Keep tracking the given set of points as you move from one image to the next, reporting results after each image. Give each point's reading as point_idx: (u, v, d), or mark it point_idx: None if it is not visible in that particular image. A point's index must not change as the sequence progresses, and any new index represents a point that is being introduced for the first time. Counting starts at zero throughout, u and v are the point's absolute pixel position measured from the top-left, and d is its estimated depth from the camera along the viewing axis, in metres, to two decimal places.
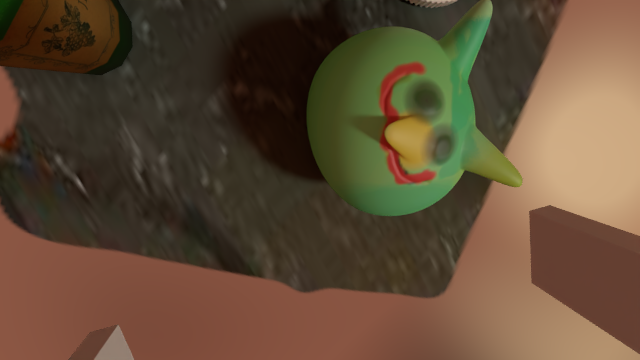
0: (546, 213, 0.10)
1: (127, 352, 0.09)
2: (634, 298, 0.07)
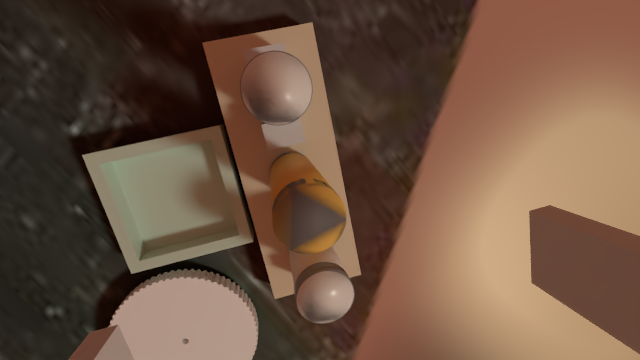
0: (546, 213, 0.10)
1: (127, 353, 0.09)
2: (634, 298, 0.07)
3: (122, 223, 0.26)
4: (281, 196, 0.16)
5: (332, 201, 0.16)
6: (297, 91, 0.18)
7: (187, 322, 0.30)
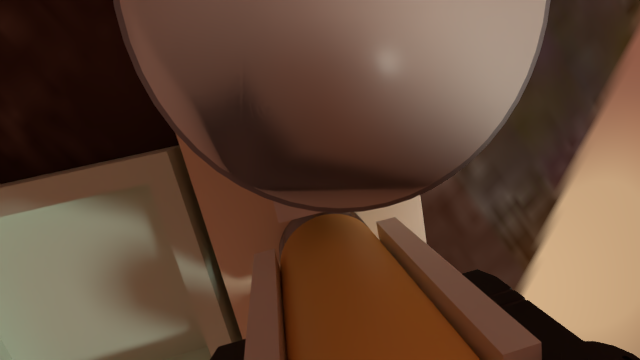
0: (385, 224, 0.11)
1: (280, 271, 0.11)
2: None
3: None
4: None
5: None
6: (469, 18, 0.03)
7: None
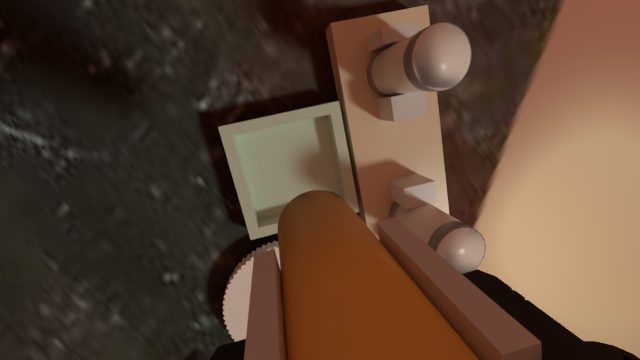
0: (386, 224, 0.11)
1: (280, 271, 0.11)
2: None
3: (247, 192, 0.28)
4: None
5: None
6: (458, 59, 0.20)
7: None
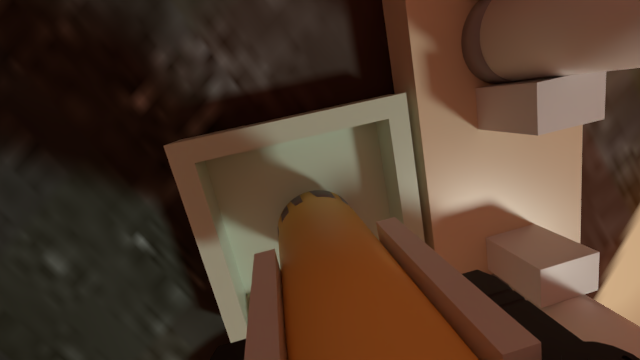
0: (386, 224, 0.11)
1: (280, 271, 0.11)
2: None
3: (226, 269, 0.15)
4: None
5: None
6: None
7: None
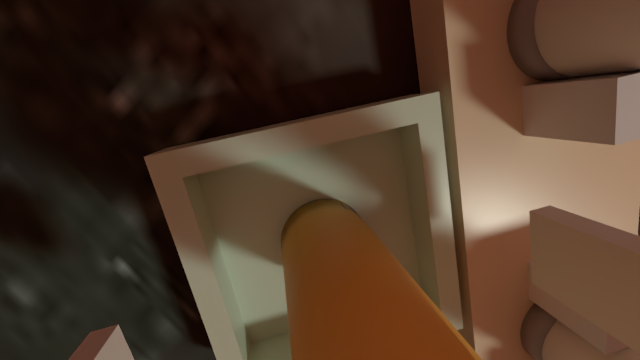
0: (546, 213, 0.10)
1: (127, 353, 0.09)
2: (634, 298, 0.07)
3: (221, 303, 0.12)
4: None
5: None
6: None
7: None
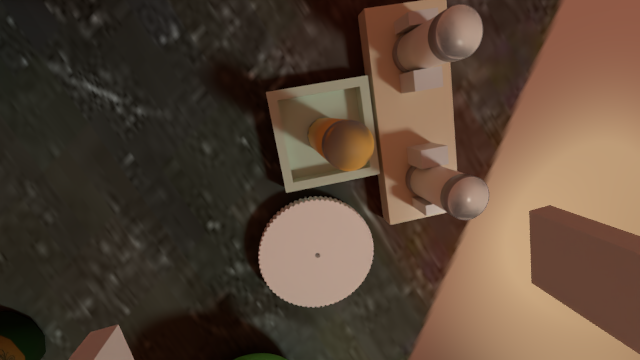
0: (546, 213, 0.10)
1: (126, 352, 0.09)
2: (634, 298, 0.07)
3: (285, 150, 0.33)
4: (331, 128, 0.24)
5: (365, 133, 0.24)
6: (472, 35, 0.25)
7: (321, 239, 0.37)
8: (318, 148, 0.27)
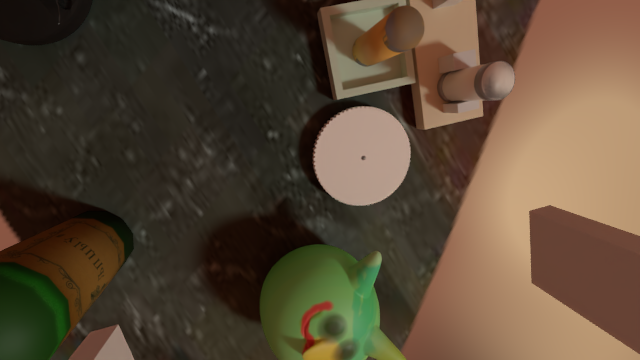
0: (546, 213, 0.10)
1: (127, 352, 0.09)
2: (634, 298, 0.07)
3: (336, 60, 0.39)
4: (390, 12, 0.29)
5: (417, 17, 0.30)
6: None
7: (366, 143, 0.42)
8: (374, 41, 0.33)
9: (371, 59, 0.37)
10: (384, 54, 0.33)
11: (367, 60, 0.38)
